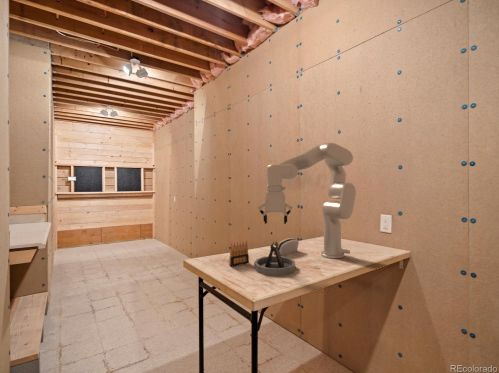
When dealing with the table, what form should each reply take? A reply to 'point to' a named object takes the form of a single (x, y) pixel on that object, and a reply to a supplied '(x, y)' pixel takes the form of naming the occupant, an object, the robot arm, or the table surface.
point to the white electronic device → (287, 246)
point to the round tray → (287, 269)
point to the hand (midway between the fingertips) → (275, 223)
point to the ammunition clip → (238, 254)
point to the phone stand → (278, 257)
